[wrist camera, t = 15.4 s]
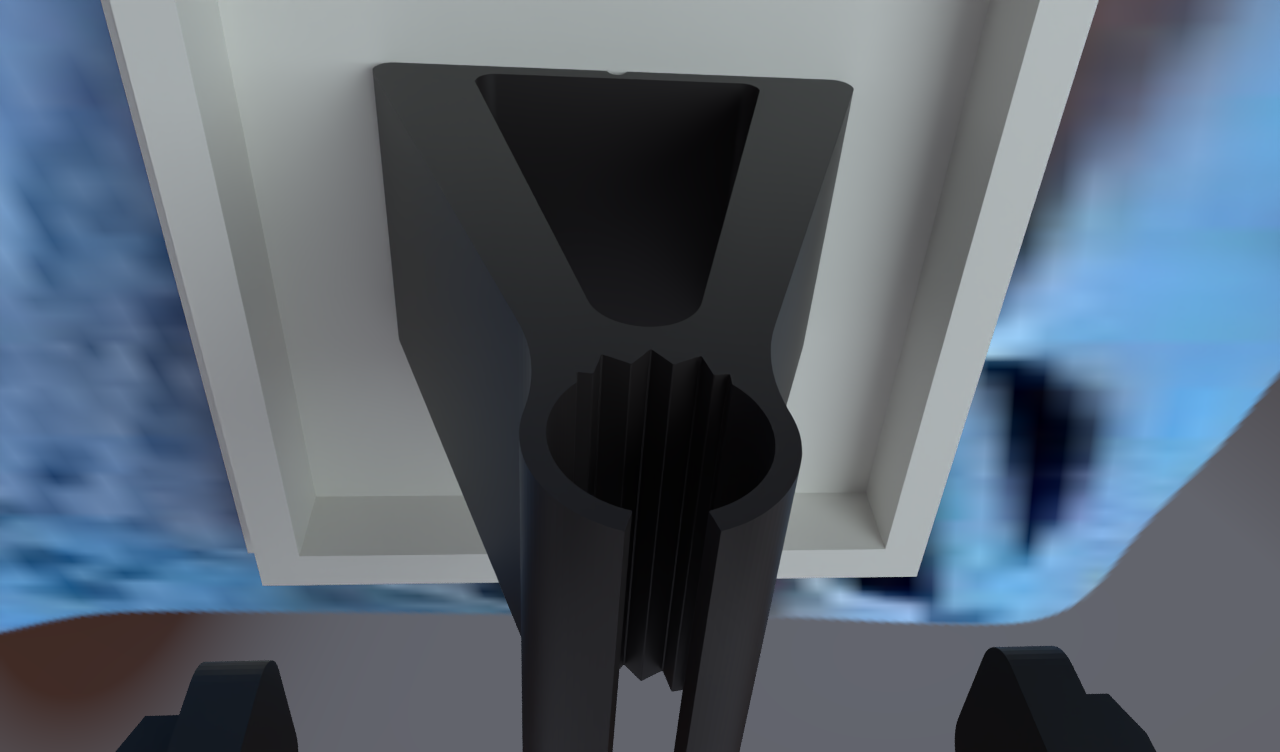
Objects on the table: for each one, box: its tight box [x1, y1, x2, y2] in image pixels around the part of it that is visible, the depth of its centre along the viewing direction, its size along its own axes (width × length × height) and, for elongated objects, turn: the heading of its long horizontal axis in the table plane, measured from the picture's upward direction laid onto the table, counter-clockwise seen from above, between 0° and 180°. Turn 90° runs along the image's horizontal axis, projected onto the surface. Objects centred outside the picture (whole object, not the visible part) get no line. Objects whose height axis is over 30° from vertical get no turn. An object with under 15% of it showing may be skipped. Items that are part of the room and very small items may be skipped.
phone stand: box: [373, 62, 854, 752], centre depth 16 cm, size 9×6×12 cm, turn 86°
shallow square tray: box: [101, 0, 1098, 586], centre depth 21 cm, size 18×20×3 cm
